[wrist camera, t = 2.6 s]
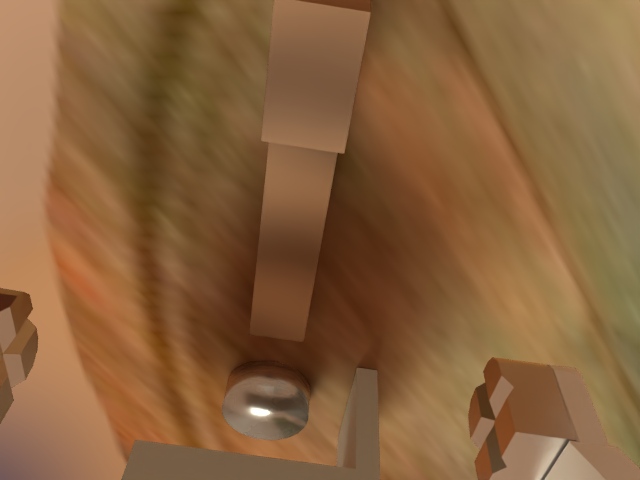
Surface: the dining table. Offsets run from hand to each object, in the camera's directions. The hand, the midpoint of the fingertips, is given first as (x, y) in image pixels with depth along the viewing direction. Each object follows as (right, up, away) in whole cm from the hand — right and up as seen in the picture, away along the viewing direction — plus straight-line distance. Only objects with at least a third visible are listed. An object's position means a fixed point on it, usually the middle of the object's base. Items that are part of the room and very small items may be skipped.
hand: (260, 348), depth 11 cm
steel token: (-2, -7, +26) cm, 27 cm away
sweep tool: (0, +5, +17) cm, 17 cm away
